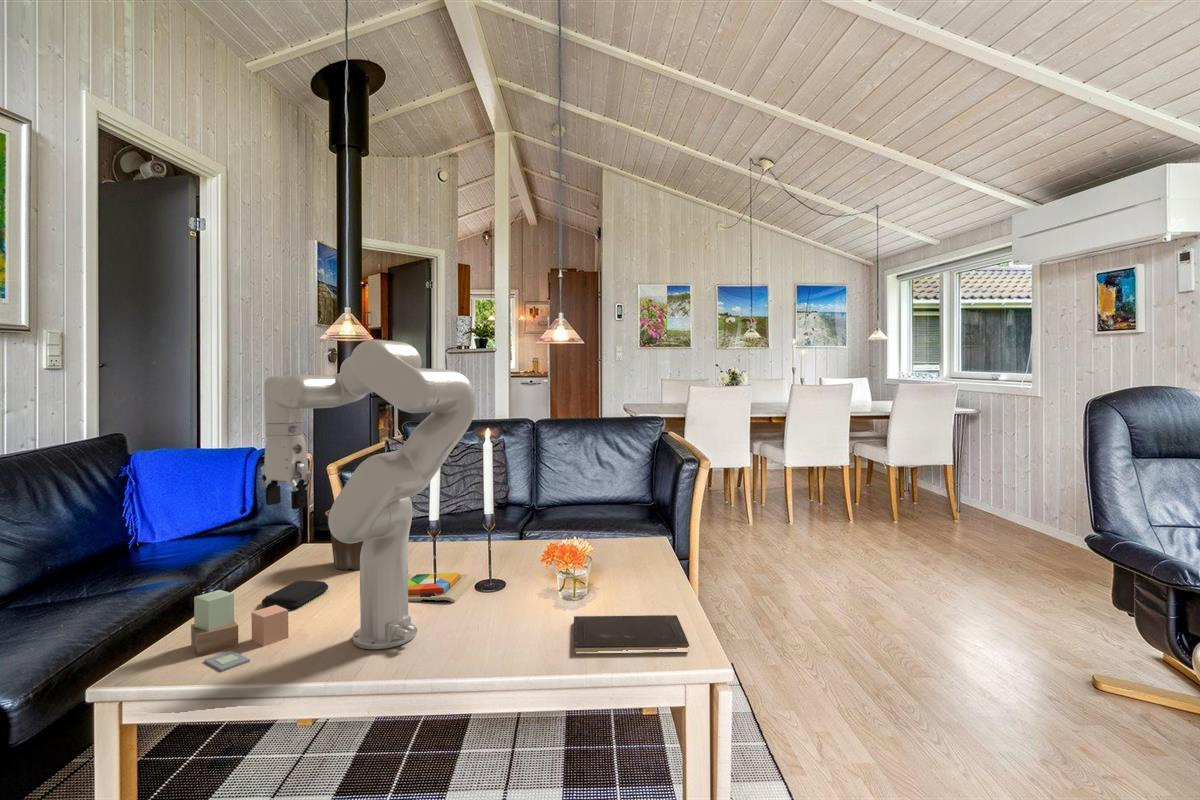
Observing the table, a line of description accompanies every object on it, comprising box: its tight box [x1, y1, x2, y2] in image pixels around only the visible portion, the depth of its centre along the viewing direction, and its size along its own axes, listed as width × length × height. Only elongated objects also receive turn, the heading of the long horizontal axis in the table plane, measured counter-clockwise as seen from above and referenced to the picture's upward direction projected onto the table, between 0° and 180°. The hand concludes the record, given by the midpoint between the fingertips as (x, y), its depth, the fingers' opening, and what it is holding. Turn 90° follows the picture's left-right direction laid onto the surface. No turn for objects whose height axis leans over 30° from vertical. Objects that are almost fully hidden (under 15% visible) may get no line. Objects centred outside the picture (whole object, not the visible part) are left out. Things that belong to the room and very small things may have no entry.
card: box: [203, 649, 251, 672], centre depth 116 cm, size 7×5×1 cm
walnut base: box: [190, 620, 239, 657], centre depth 123 cm, size 7×7×4 cm
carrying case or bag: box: [260, 579, 329, 611], centre depth 150 cm, size 11×3×15 cm
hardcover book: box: [573, 614, 690, 653], centre depth 128 cm, size 16×23×2 cm
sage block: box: [193, 589, 235, 631], centre depth 123 cm, size 5×5×6 cm
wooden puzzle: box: [408, 572, 476, 603], centre depth 157 cm, size 18×19×4 cm
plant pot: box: [324, 509, 364, 571], centre depth 178 cm, size 16×16×16 cm
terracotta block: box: [251, 605, 290, 647], centre depth 127 cm, size 5×5×6 cm
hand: (285, 506), depth 138 cm, fingers open, 9 cm apart
